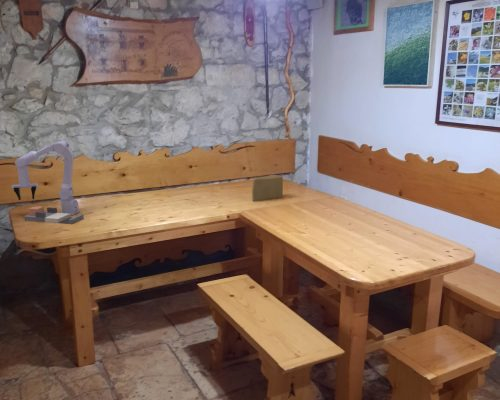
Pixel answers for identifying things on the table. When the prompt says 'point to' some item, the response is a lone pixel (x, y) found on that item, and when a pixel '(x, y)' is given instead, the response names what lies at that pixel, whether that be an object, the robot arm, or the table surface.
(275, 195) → the olive upright slab
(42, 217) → the tunnel deck
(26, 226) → the table surface
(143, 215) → the table surface
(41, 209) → the block
